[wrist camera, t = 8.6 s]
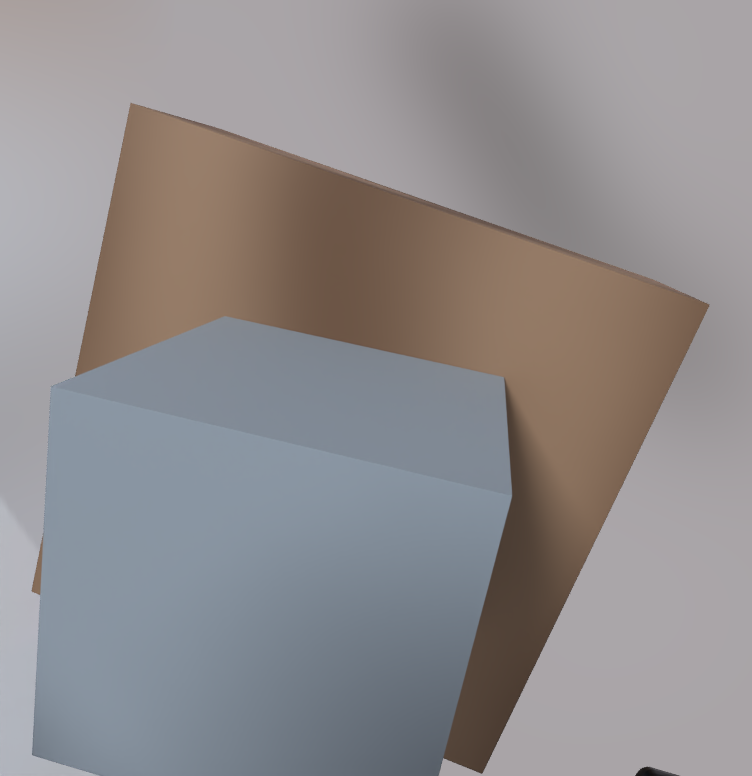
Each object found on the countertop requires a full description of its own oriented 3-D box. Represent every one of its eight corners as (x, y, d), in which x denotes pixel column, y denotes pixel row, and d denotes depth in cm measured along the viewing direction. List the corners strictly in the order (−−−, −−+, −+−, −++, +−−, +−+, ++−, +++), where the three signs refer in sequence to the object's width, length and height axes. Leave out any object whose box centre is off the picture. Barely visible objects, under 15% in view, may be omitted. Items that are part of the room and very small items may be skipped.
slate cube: (504, 376, 12) (511, 495, 7) (442, 627, 13) (413, 869, 8) (224, 315, 12) (51, 386, 7) (194, 561, 14) (31, 755, 9)
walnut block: (652, 279, 15) (709, 304, 11) (484, 649, 18) (482, 773, 14) (220, 128, 15) (130, 102, 11) (128, 510, 18) (31, 591, 14)
